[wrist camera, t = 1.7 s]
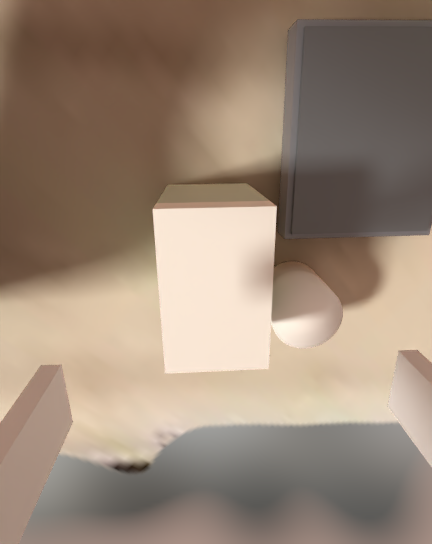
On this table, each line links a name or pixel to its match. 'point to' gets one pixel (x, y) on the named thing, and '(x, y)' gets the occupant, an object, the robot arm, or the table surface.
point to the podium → (357, 129)
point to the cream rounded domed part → (303, 306)
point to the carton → (215, 276)
